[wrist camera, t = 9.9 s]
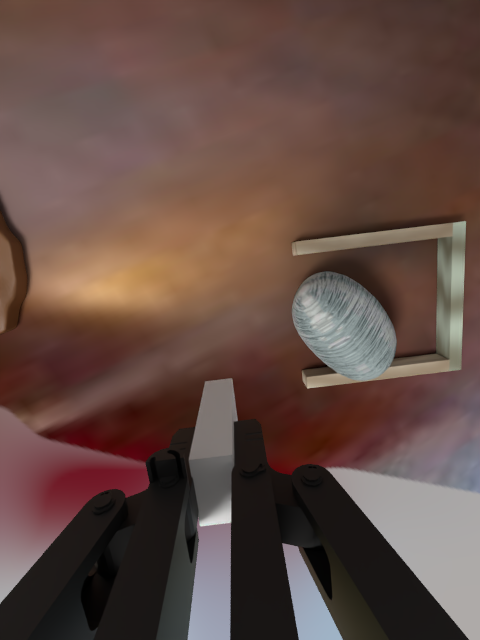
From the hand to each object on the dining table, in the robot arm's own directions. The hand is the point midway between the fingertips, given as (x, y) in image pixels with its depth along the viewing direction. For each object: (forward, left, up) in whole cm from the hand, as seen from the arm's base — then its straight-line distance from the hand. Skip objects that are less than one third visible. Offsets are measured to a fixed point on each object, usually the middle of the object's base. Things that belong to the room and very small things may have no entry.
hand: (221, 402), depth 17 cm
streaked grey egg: (+1, +13, -22) cm, 26 cm away
